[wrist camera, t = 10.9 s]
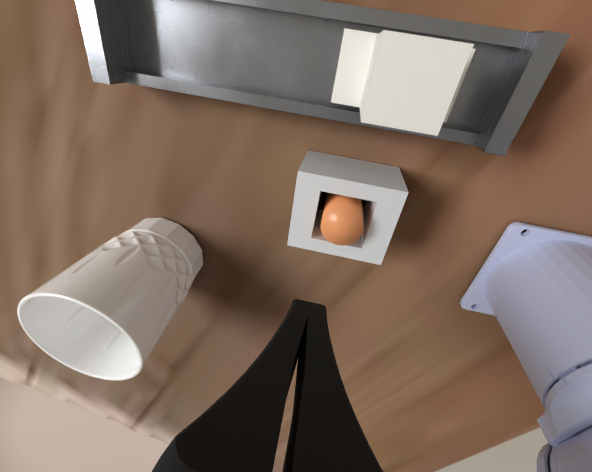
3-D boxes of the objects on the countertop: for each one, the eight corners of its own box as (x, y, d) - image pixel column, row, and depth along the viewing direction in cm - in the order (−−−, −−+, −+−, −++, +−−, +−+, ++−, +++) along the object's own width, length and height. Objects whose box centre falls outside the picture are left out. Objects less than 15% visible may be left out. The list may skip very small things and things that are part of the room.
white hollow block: (399, 167, 19) (408, 192, 15) (376, 231, 21) (380, 264, 18) (307, 150, 19) (298, 170, 16) (297, 215, 22) (287, 245, 19)
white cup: (227, 255, 25) (164, 355, 17) (181, 295, 29) (111, 393, 21) (151, 191, 23) (36, 270, 15) (112, 243, 27) (3, 329, 18)
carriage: (467, 49, 14) (522, 47, 9) (440, 118, 16) (475, 145, 11) (345, 29, 15) (340, 19, 10) (332, 99, 16) (322, 118, 12)
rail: (530, 37, 14) (570, 34, 12) (481, 139, 17) (504, 156, 14) (114, -26, 16) (65, -42, 13) (130, 77, 19) (92, 81, 16)
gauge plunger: (366, 182, 19) (368, 213, 16) (357, 214, 21) (357, 249, 17) (330, 175, 19) (324, 204, 16) (323, 207, 21) (317, 240, 17)
